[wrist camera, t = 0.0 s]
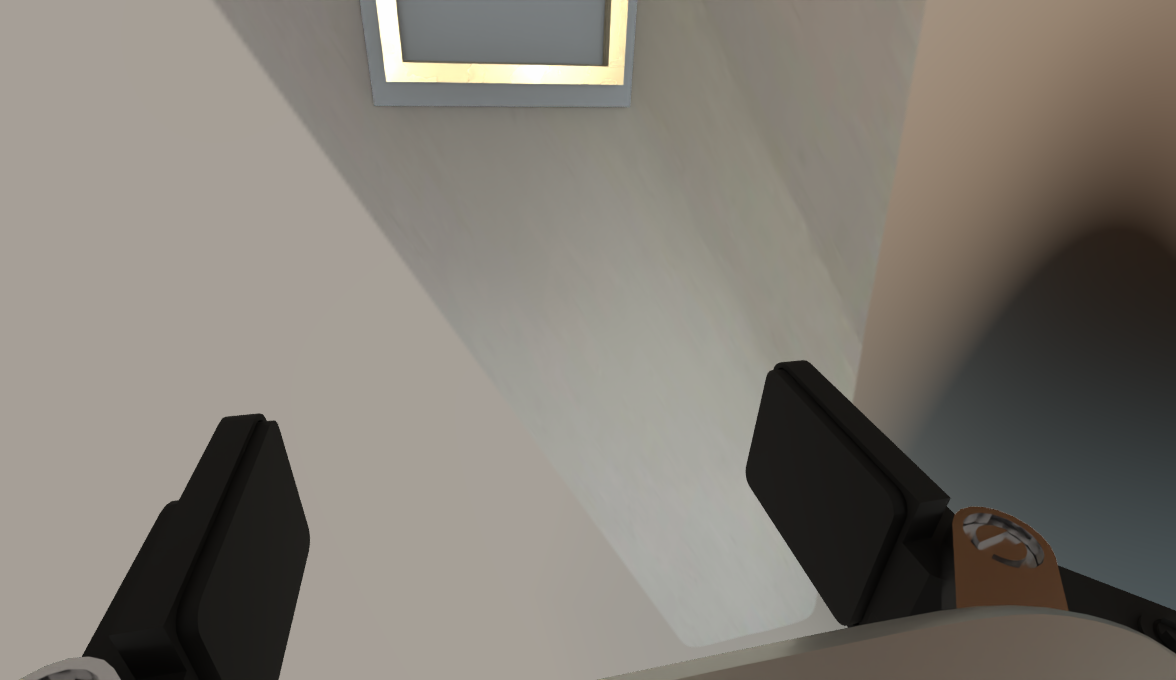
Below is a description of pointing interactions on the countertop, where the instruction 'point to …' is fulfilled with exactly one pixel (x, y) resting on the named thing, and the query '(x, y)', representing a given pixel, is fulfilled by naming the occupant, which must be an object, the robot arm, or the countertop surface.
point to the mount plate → (500, 52)
